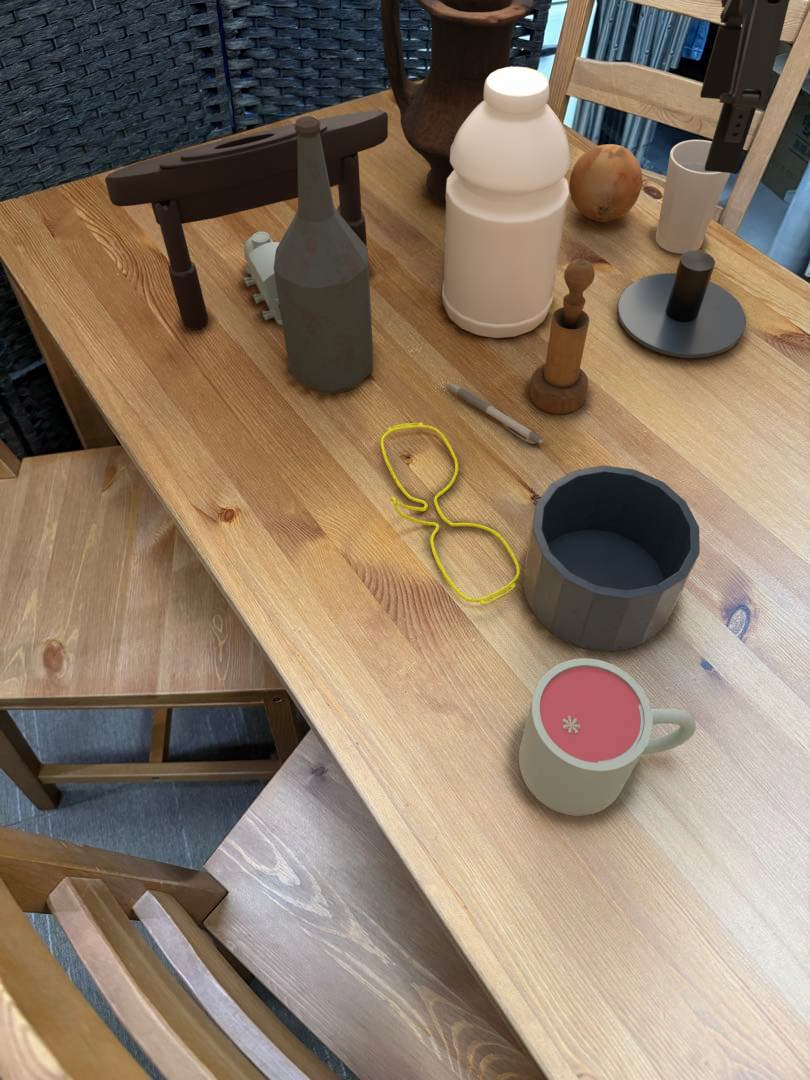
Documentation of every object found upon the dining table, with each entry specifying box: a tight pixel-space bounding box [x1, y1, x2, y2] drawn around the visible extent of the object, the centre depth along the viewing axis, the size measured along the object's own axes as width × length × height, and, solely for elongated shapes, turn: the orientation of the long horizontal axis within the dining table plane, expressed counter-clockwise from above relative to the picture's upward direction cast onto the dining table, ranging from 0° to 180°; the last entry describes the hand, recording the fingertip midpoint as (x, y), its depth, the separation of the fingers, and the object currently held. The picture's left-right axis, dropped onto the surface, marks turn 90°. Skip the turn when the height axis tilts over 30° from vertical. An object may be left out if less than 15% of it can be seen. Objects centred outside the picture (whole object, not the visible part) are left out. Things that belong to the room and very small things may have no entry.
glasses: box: [380, 422, 521, 606], centre depth 87 cm, size 25×10×5 cm, turn 22°
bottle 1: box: [274, 115, 374, 395], centre depth 91 cm, size 10×10×30 cm
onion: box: [568, 143, 643, 223], centre depth 117 cm, size 10×10×10 cm
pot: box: [522, 464, 701, 652], centre depth 80 cm, size 15×15×10 cm
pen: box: [445, 382, 544, 445], centre depth 97 cm, size 1×14×1 cm, turn 47°
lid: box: [616, 250, 747, 359], centre depth 104 cm, size 16×16×9 cm
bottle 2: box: [441, 66, 572, 339], centre depth 98 cm, size 14×14×28 cm
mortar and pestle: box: [529, 258, 596, 415], centre depth 92 cm, size 7×6×18 cm
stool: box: [104, 109, 389, 330], centre depth 103 cm, size 16×21×33 cm
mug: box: [518, 657, 697, 817], centre depth 69 cm, size 14×9×10 cm
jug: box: [380, 0, 539, 206], centre depth 113 cm, size 21×18×30 cm
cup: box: [655, 139, 731, 255], centre depth 112 cm, size 8×8×12 cm
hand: (716, 132), depth 83 cm, fingers open, 13 cm apart
